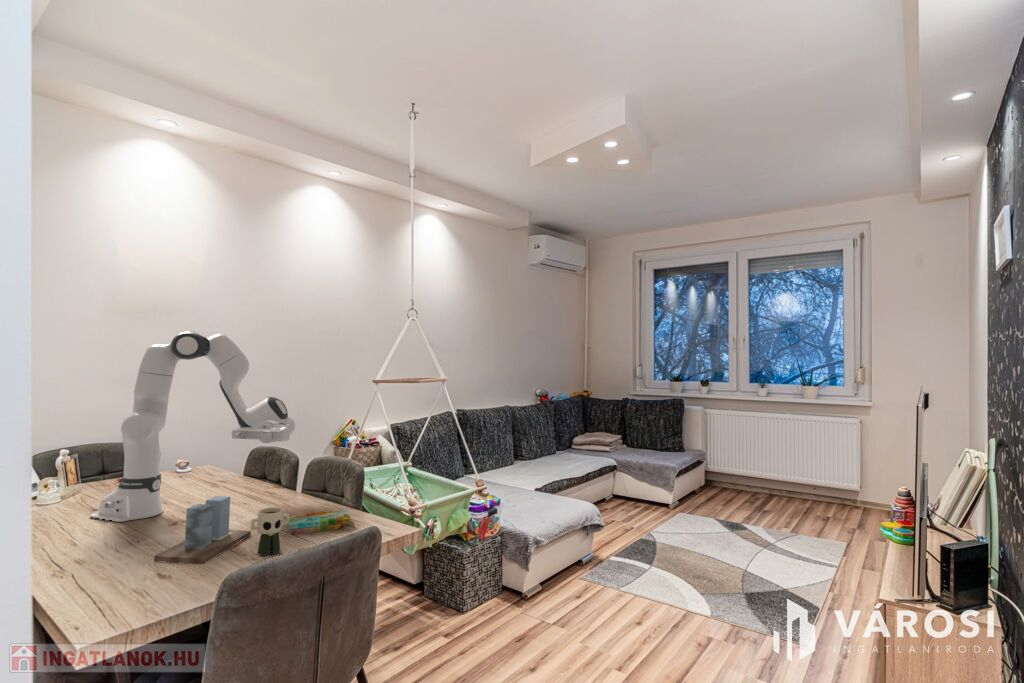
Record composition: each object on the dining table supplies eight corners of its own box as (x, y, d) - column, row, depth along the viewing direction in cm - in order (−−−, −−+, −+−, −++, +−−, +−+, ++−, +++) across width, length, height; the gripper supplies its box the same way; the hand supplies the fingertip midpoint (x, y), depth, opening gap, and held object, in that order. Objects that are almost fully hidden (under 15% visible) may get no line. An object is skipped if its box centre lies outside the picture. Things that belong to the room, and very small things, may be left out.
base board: (154, 561, 149) (156, 514, 149) (207, 533, 173) (209, 493, 173) (203, 563, 148) (205, 516, 149) (250, 535, 172) (252, 494, 173)
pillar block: (204, 537, 164) (205, 500, 165) (213, 532, 169) (215, 496, 170) (219, 538, 164) (220, 500, 164) (228, 533, 169) (230, 496, 169)
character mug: (252, 560, 151) (253, 516, 152) (246, 553, 157) (248, 510, 157) (290, 552, 158) (292, 510, 158) (284, 545, 164) (286, 504, 164)
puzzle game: (288, 512, 184) (346, 507, 192) (288, 526, 183) (346, 520, 192) (289, 522, 173) (350, 516, 181) (288, 536, 173) (350, 529, 181)
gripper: (243, 422, 205) (222, 427, 192) (293, 424, 204) (275, 429, 190) (243, 438, 205) (221, 444, 191) (292, 440, 204) (274, 446, 190)
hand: (249, 436), depth 191 cm, fingers open, 8 cm apart
